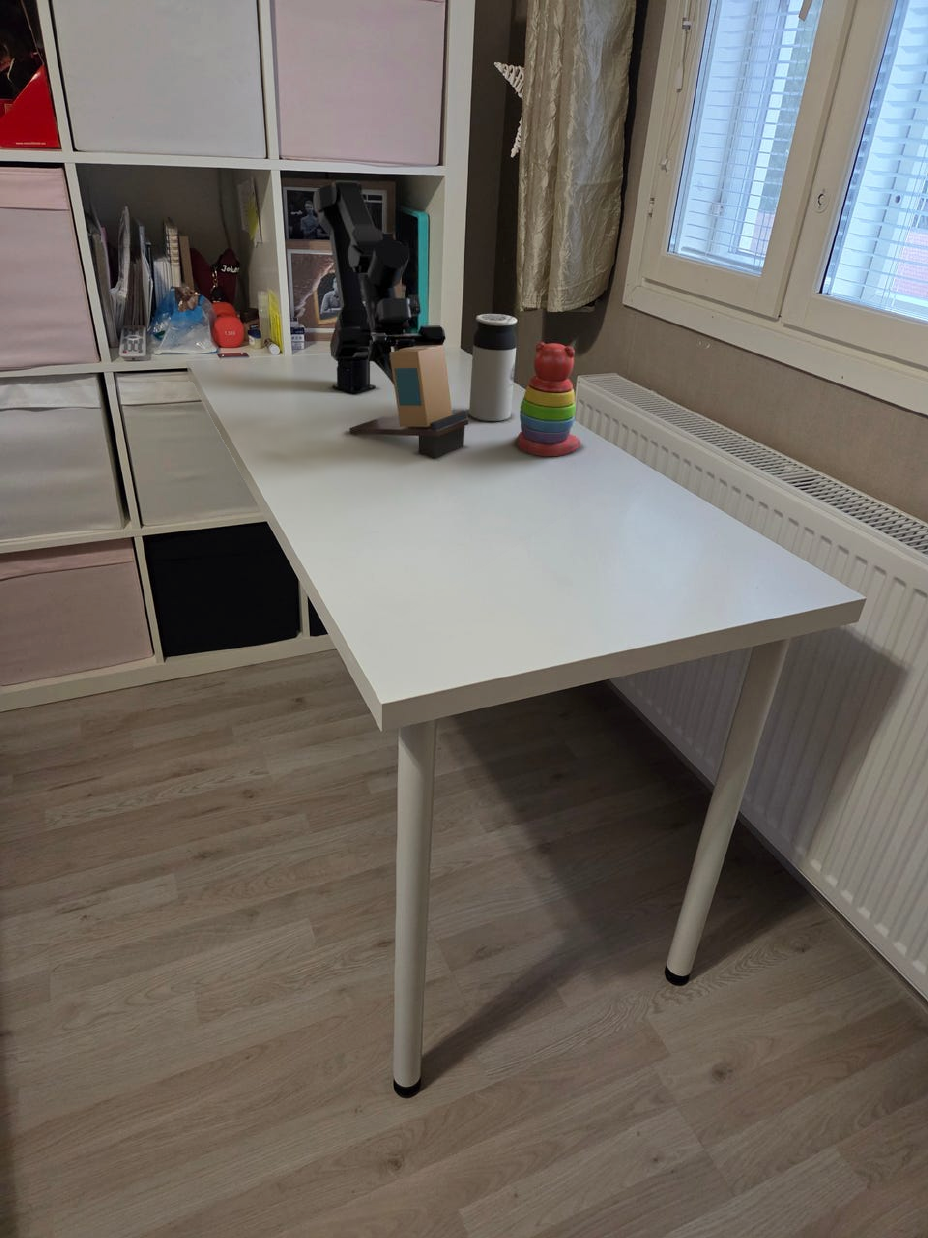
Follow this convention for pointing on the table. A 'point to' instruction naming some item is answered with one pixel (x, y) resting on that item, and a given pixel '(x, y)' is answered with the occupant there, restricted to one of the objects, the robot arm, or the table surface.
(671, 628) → the table surface
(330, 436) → the table surface
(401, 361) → the carton
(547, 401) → the stacking bear
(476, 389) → the travel mug
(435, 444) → the ramp
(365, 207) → the robot arm
